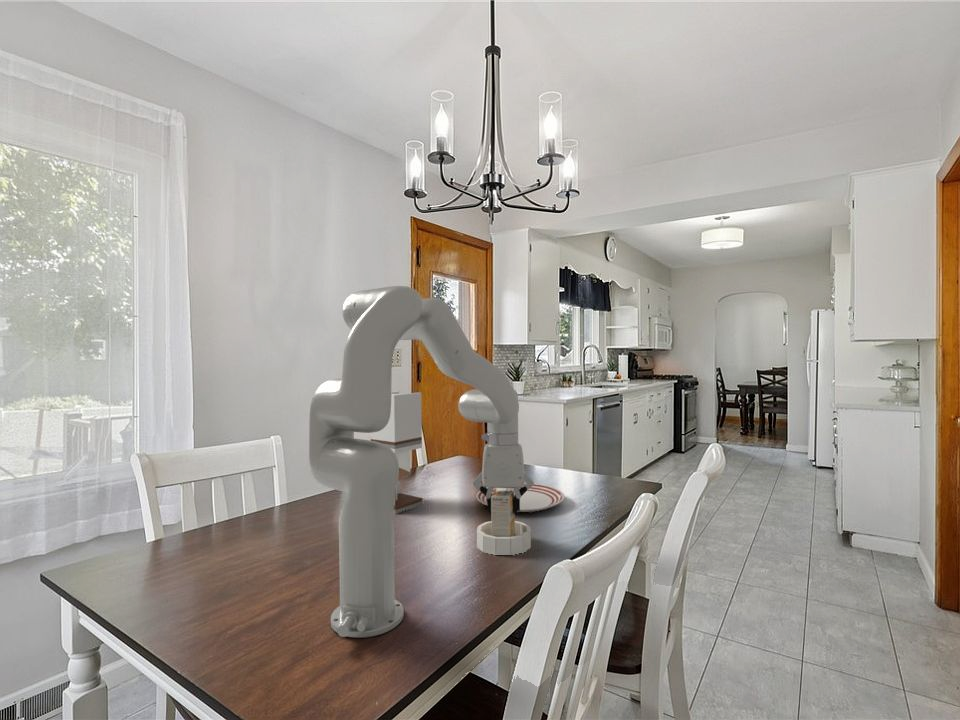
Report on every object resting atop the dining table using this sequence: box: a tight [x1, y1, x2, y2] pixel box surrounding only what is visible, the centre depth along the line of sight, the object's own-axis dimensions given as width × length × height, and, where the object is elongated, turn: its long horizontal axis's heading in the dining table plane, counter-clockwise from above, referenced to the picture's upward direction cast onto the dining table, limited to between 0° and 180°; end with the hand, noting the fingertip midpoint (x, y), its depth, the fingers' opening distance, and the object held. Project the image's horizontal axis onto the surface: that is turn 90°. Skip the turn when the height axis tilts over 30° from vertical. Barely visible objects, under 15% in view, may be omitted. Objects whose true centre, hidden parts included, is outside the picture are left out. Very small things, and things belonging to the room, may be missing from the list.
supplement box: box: [490, 488, 516, 537], centre depth 123 cm, size 8×5×13 cm, turn 168°
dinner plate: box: [475, 482, 566, 513], centre depth 157 cm, size 27×27×3 cm
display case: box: [370, 390, 424, 515], centre depth 156 cm, size 11×11×35 cm
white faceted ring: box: [476, 520, 532, 556], centre depth 123 cm, size 13×13×4 cm
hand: (503, 512), depth 123 cm, fingers closed on supplement box, 5 cm apart
